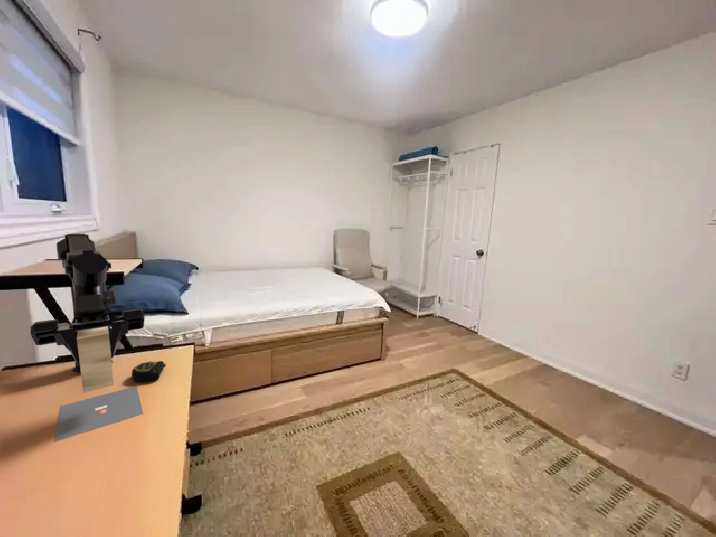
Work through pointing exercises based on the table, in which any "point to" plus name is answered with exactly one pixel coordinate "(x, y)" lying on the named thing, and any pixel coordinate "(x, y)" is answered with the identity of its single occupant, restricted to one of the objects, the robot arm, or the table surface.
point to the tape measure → (147, 371)
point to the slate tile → (97, 412)
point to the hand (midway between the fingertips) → (95, 360)
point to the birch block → (95, 358)
